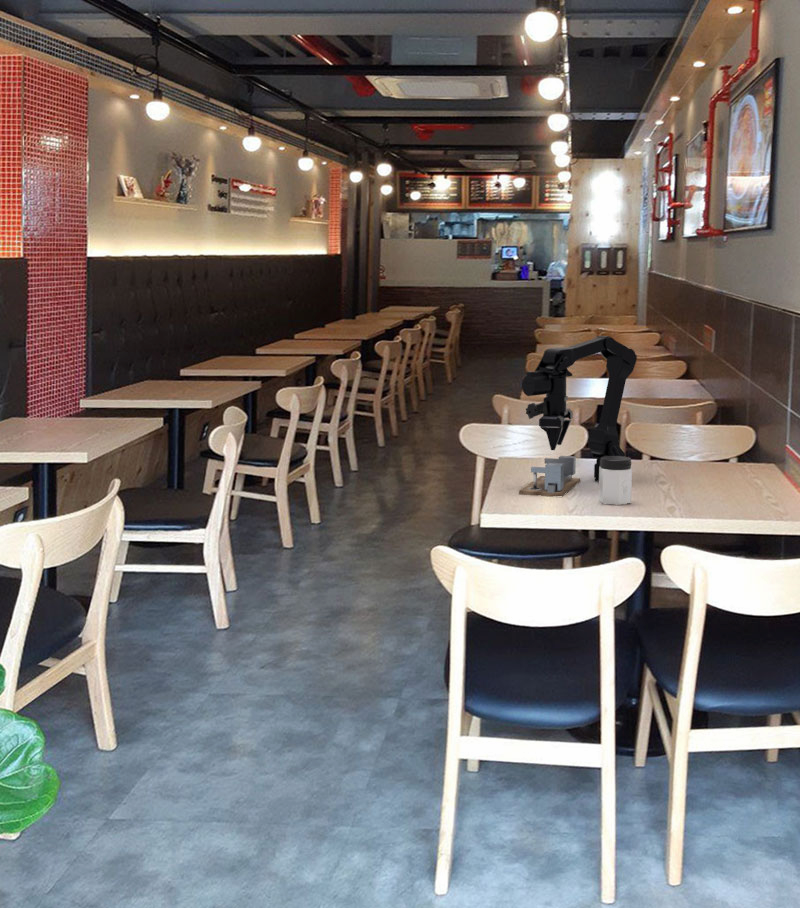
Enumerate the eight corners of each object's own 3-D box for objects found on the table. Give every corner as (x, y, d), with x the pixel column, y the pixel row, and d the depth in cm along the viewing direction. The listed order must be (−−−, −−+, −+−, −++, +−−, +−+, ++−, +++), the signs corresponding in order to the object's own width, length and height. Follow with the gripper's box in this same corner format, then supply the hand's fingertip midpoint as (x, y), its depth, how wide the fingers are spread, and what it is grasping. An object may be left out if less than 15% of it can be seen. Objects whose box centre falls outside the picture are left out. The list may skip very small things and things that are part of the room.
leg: (563, 488, 325) (564, 463, 324) (560, 490, 322) (560, 466, 321) (533, 486, 328) (533, 462, 327) (529, 488, 325) (530, 464, 324)
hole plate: (580, 481, 343) (580, 477, 343) (561, 497, 320) (561, 492, 320) (540, 479, 347) (540, 475, 347) (519, 494, 324) (519, 490, 324)
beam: (576, 479, 341) (576, 455, 340) (558, 493, 320) (559, 468, 319) (546, 477, 344) (547, 454, 343) (527, 491, 323) (528, 466, 322)
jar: (613, 506, 307) (614, 461, 305) (591, 501, 314) (593, 457, 312) (637, 502, 312) (639, 458, 310) (616, 497, 318) (617, 454, 317)
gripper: (535, 388, 341) (535, 441, 344) (520, 396, 324) (521, 451, 326) (573, 389, 338) (572, 442, 340) (560, 397, 320) (560, 453, 323)
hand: (556, 447), depth 332 cm, fingers open, 9 cm apart
